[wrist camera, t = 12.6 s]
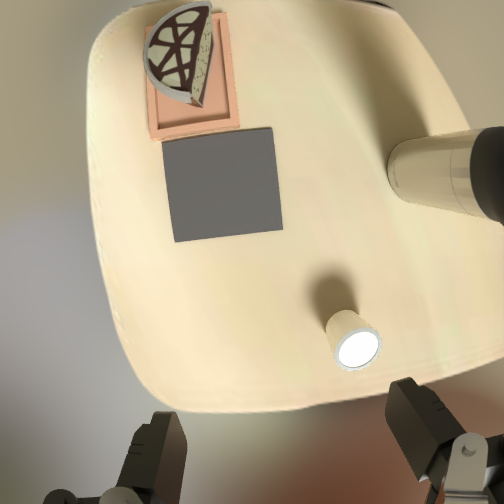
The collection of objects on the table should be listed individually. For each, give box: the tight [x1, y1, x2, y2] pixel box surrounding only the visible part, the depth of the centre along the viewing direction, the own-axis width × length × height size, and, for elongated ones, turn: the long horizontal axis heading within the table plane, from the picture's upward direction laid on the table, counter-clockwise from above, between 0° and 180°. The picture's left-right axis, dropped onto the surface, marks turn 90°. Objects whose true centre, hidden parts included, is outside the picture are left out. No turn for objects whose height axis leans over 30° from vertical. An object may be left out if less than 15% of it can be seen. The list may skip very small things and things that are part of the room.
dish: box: [146, 12, 240, 141], centre depth 32 cm, size 11×17×2 cm, turn 6°
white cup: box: [326, 310, 382, 371], centre depth 39 cm, size 7×7×7 cm
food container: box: [143, 1, 215, 108], centre depth 27 cm, size 12×6×10 cm, turn 172°
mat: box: [162, 129, 283, 242], centre depth 37 cm, size 14×13×1 cm
